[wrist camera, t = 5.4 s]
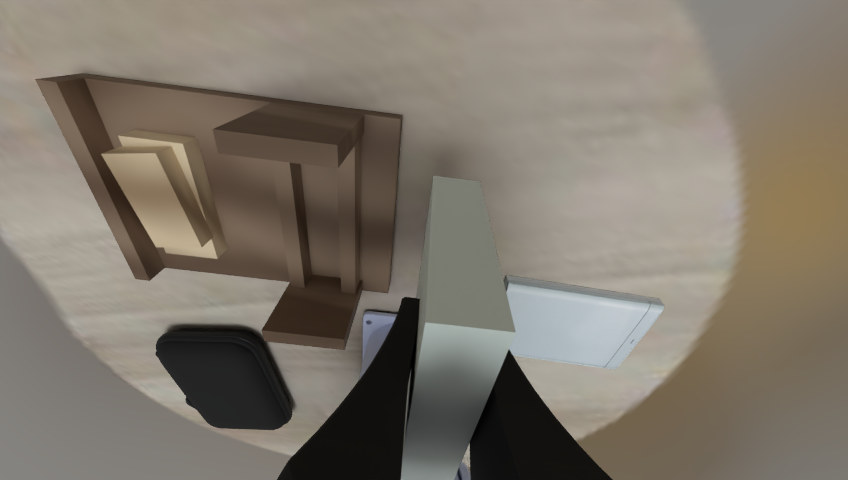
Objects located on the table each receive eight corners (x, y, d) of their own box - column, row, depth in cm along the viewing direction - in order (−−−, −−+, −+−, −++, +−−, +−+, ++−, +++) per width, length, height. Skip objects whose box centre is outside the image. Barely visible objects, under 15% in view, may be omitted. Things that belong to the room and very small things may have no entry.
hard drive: (480, 353, 28) (615, 373, 29) (508, 284, 24) (668, 308, 24) (478, 338, 30) (607, 357, 30) (505, 269, 25) (656, 293, 26)
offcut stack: (229, 249, 23) (209, 270, 21) (175, 242, 23) (150, 263, 21) (199, 137, 19) (170, 151, 17) (132, 129, 19) (95, 141, 17)
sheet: (447, 323, 19) (450, 487, 12) (413, 319, 19) (397, 482, 12) (480, 181, 14) (515, 332, 7) (433, 175, 14) (425, 322, 7)
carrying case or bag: (150, 319, 30) (212, 406, 38) (123, 346, 27) (196, 433, 35) (261, 321, 29) (300, 409, 37) (244, 349, 27) (290, 437, 35)
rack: (389, 284, 26) (376, 353, 20) (161, 258, 25) (84, 321, 20) (402, 115, 18) (386, 151, 13) (82, 73, 18) (-73, 93, 13)
